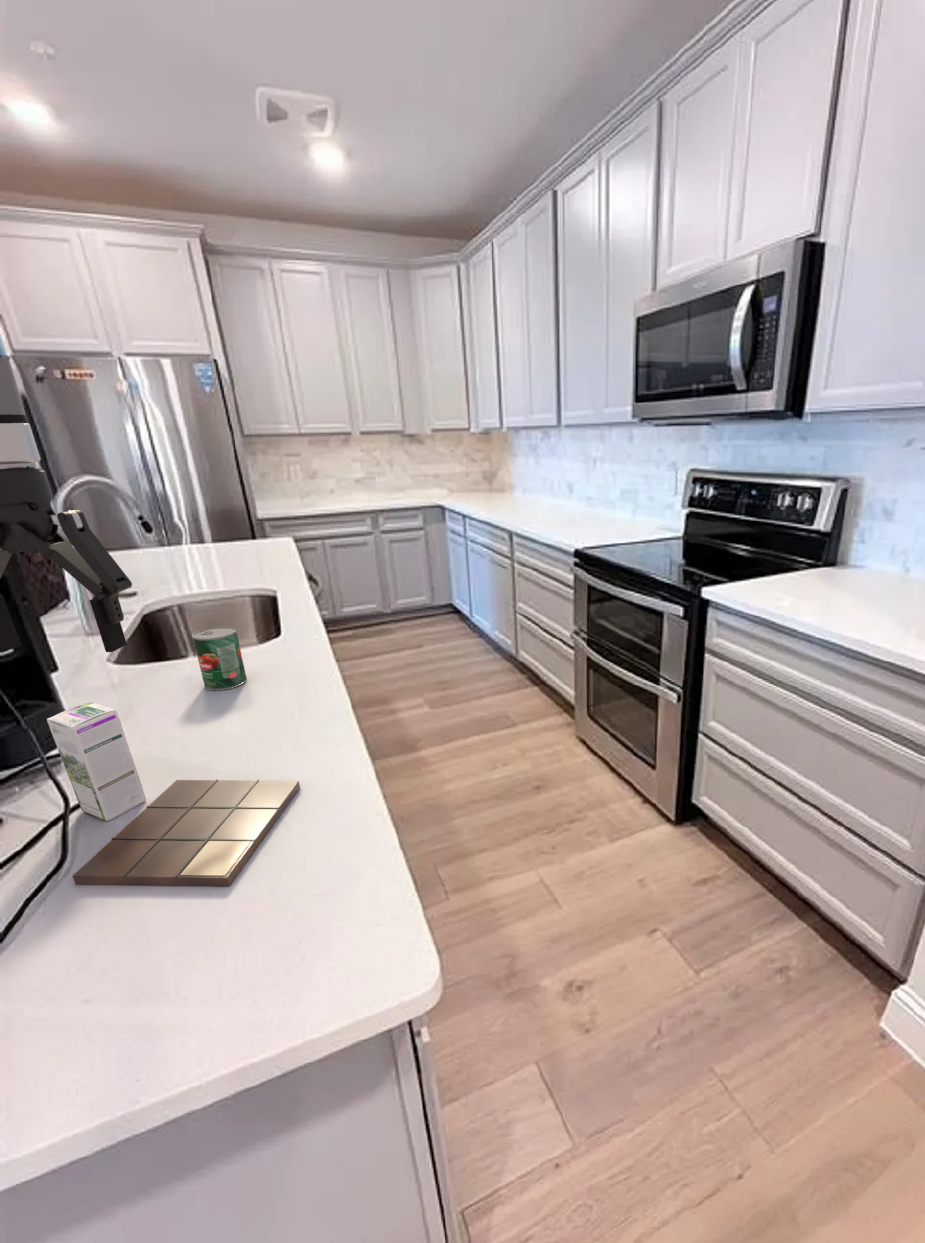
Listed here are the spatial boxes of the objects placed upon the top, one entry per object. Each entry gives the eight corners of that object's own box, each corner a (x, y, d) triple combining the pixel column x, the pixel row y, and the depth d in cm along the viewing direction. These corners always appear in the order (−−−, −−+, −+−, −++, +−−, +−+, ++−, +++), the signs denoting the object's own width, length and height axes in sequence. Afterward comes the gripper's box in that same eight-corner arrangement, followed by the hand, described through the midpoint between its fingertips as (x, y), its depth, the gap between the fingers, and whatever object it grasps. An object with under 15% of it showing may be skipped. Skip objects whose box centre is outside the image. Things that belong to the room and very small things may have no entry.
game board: (74, 884, 67) (71, 875, 67) (178, 786, 86) (176, 779, 85) (229, 886, 67) (227, 877, 66) (300, 787, 85) (298, 780, 85)
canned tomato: (255, 676, 124) (244, 626, 120) (231, 691, 117) (219, 639, 113) (220, 674, 126) (209, 625, 121) (195, 689, 118) (182, 637, 114)
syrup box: (148, 800, 83) (119, 707, 77) (105, 823, 78) (70, 726, 72) (123, 790, 85) (93, 699, 79) (79, 813, 80) (43, 717, 75)
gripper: (133, 463, 68) (179, 638, 76) (-77, 466, 68) (-9, 639, 76) (85, 467, 61) (141, 659, 69) (-148, 470, 61) (-65, 660, 70)
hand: (62, 649), depth 73 cm, fingers open, 13 cm apart
